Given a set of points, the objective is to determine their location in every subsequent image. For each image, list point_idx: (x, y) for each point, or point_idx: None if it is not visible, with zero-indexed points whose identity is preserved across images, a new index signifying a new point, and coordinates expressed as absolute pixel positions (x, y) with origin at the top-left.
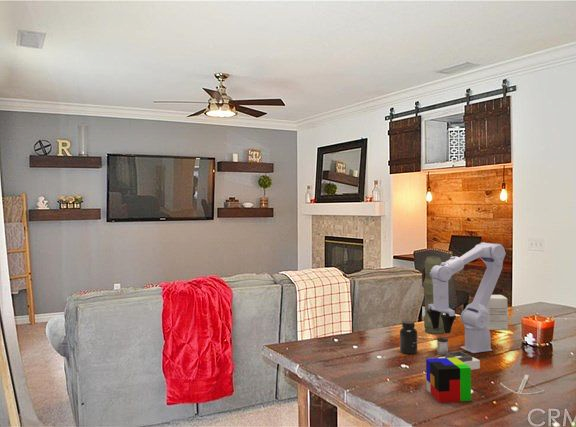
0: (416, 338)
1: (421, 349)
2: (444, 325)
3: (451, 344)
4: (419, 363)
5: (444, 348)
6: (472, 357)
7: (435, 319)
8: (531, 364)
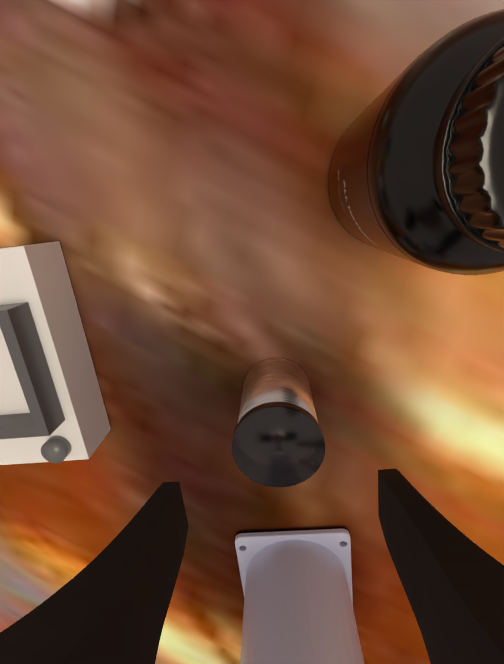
0: (369, 230)
1: (414, 304)
2: (121, 545)
3: None
4: (118, 132)
5: (240, 405)
6: (15, 459)
7: (425, 590)
8: None
